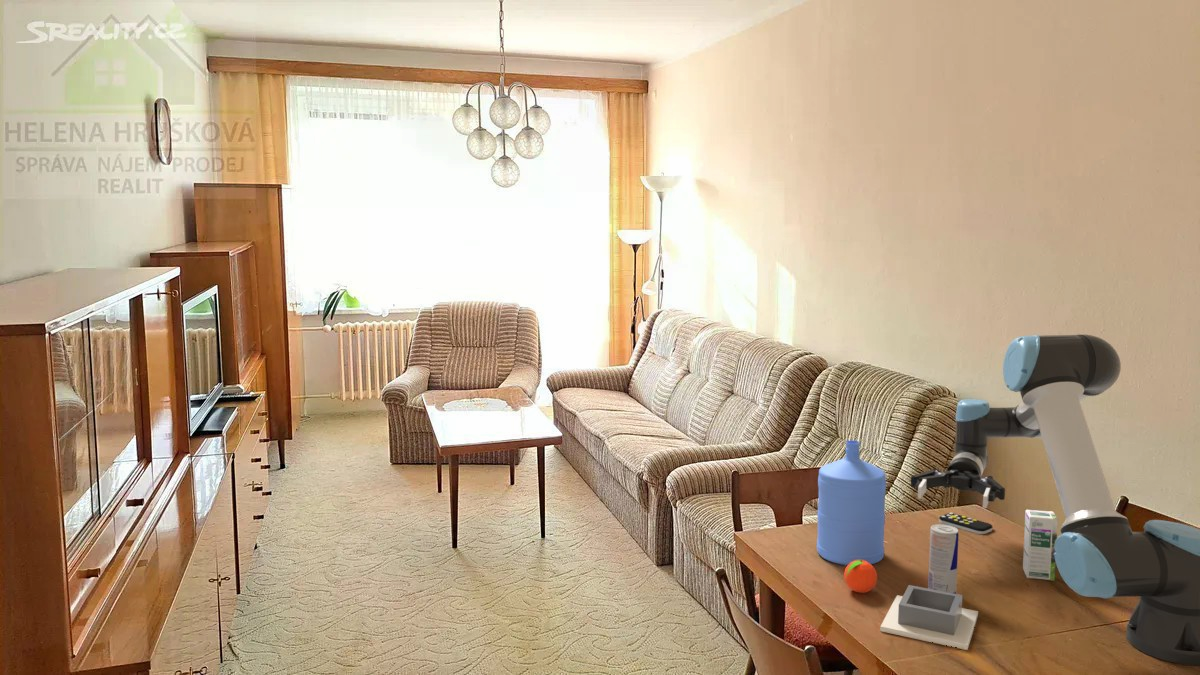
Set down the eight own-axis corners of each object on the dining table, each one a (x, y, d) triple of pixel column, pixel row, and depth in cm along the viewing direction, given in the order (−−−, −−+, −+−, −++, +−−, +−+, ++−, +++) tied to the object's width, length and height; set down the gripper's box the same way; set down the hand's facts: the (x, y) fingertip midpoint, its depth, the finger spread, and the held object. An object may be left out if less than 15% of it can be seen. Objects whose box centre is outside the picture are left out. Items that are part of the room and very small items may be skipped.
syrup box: (1026, 578, 193) (1030, 516, 191) (1022, 568, 199) (1025, 508, 197) (1054, 581, 192) (1058, 518, 190) (1049, 571, 197) (1053, 510, 195)
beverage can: (958, 601, 183) (961, 533, 181) (930, 599, 184) (933, 532, 182) (953, 590, 188) (955, 524, 186) (926, 588, 189) (928, 522, 187)
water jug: (874, 572, 198) (878, 454, 194) (807, 559, 206) (810, 445, 202) (890, 549, 211) (894, 438, 207) (827, 538, 219) (829, 431, 215)
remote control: (982, 536, 220) (982, 529, 220) (936, 523, 230) (936, 516, 230) (994, 531, 224) (995, 523, 223) (949, 518, 234) (949, 511, 233)
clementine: (858, 602, 183) (859, 570, 182) (833, 590, 189) (834, 559, 188) (883, 593, 187) (884, 561, 186) (858, 582, 193) (858, 551, 192)
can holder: (978, 615, 176) (979, 592, 175) (967, 650, 162) (968, 625, 161) (896, 599, 184) (897, 577, 183) (880, 631, 170) (881, 607, 169)
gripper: (1020, 494, 205) (1012, 522, 186) (910, 479, 217) (893, 504, 199) (1022, 463, 203) (1014, 489, 185) (911, 450, 216) (894, 473, 198)
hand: (951, 497), depth 192 cm, fingers open, 13 cm apart
